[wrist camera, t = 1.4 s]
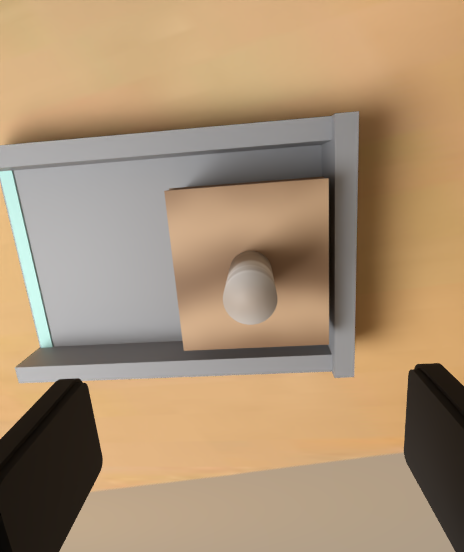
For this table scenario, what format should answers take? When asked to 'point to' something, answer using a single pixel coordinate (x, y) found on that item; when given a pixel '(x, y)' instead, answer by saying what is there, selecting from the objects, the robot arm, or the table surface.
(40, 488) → the robot arm
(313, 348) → the bay
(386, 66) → the table surface
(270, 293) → the knobbed wooden box
